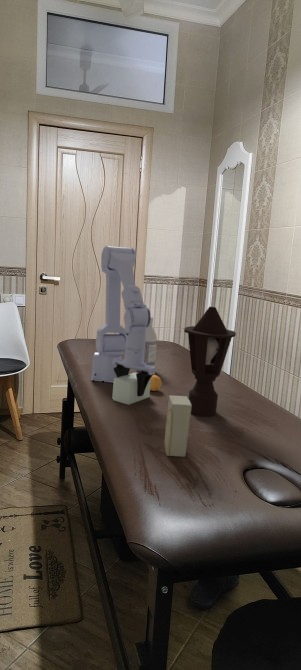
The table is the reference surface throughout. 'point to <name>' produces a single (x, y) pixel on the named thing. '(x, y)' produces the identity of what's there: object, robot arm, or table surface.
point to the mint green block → (128, 389)
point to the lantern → (207, 360)
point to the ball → (155, 383)
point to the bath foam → (150, 345)
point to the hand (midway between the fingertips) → (131, 392)
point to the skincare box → (177, 425)
